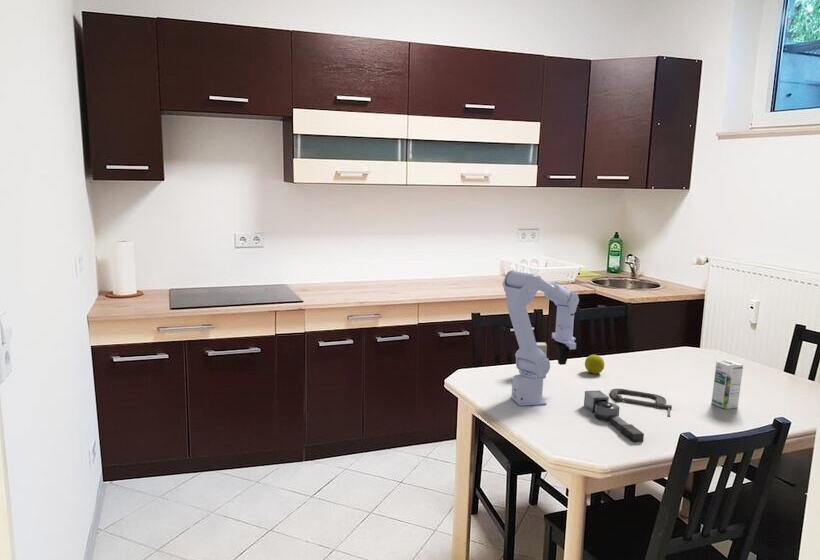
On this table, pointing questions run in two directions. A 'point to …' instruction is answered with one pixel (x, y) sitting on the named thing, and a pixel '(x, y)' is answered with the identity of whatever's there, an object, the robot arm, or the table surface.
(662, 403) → the c clamp
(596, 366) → the tennis ball
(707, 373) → the table surface
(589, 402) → the brushed steel cube
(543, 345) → the skincare box
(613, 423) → the ratchet
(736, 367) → the syrup box
